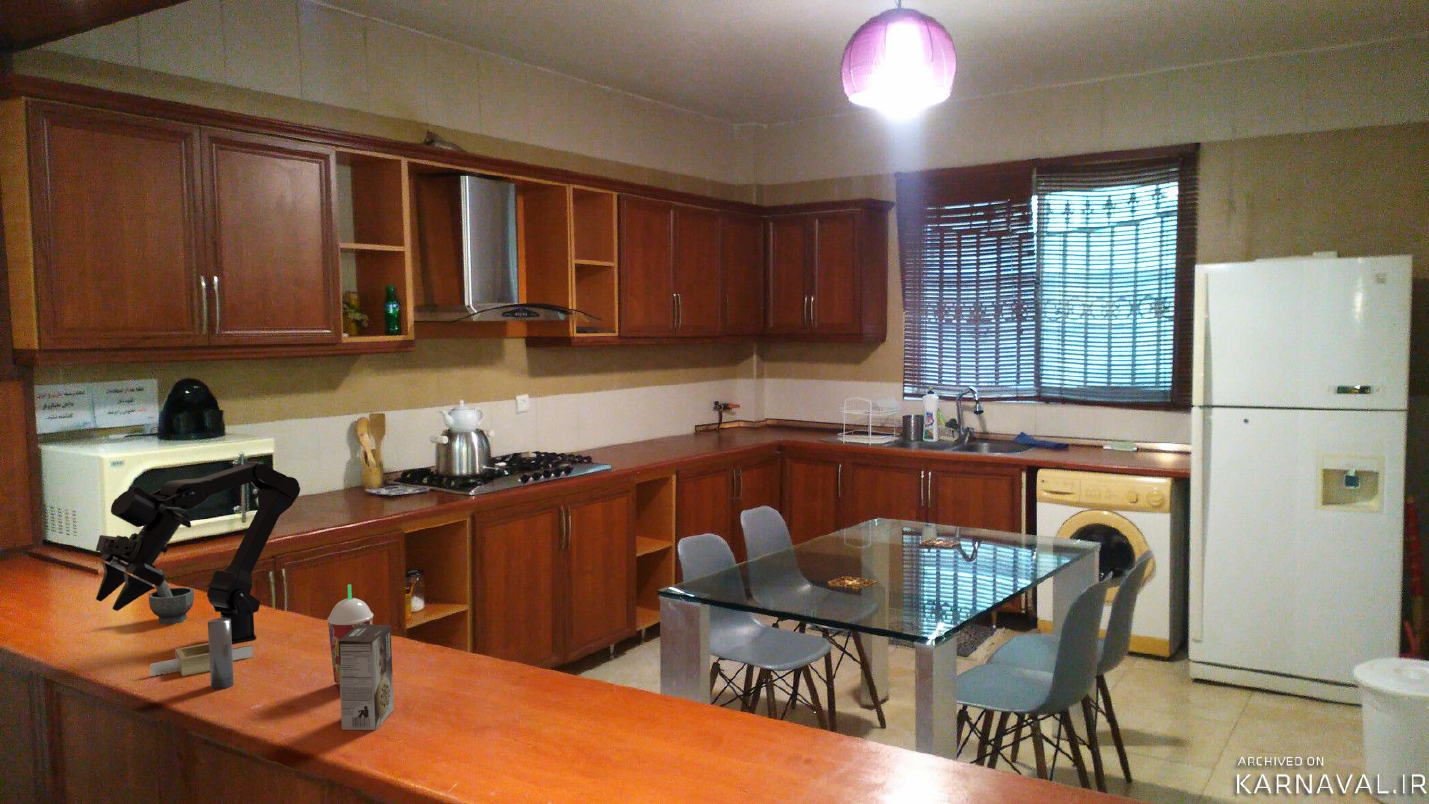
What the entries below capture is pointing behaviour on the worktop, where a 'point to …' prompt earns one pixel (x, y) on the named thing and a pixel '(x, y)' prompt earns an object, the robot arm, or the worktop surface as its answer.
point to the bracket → (195, 660)
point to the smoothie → (346, 625)
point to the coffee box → (366, 677)
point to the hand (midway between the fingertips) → (106, 605)
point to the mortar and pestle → (171, 603)
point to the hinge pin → (220, 653)
